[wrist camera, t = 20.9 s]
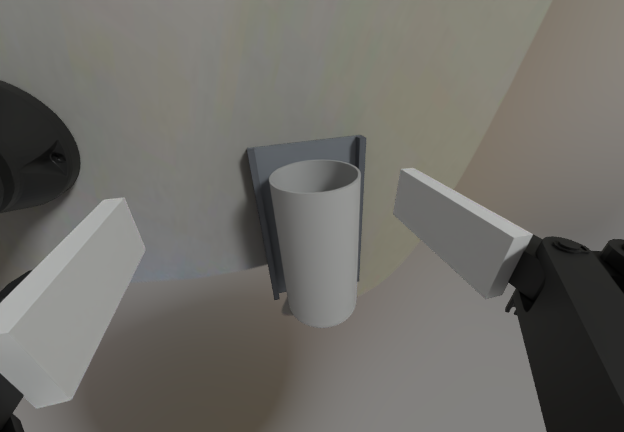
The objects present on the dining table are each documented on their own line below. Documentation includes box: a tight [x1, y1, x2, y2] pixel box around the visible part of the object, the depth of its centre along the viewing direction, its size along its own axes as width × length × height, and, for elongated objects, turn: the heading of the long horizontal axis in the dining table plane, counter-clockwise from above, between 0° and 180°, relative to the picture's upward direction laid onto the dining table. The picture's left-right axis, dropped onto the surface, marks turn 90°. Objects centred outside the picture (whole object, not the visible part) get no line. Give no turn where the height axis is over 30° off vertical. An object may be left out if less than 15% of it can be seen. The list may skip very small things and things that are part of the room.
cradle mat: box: [247, 135, 366, 300], centre depth 46 cm, size 30×18×2 cm, turn 3°
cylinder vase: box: [269, 160, 361, 328], centre depth 42 cm, size 12×12×25 cm
